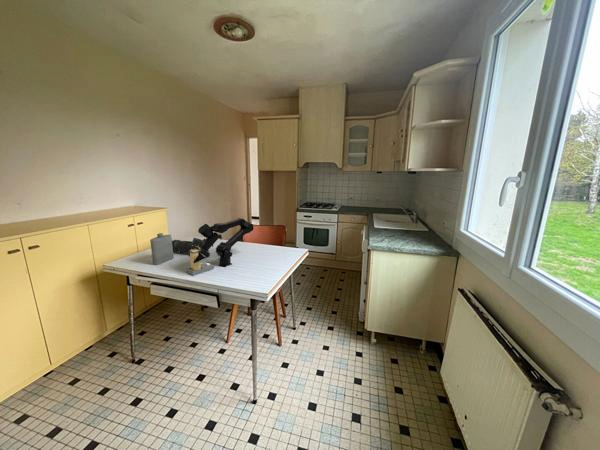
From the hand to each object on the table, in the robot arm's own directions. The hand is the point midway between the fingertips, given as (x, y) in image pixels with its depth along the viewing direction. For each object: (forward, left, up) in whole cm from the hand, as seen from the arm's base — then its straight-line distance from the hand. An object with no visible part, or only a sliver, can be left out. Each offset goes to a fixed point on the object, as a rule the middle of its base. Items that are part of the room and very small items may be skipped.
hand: (192, 260), depth 142 cm
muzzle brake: (-15, -36, -8) cm, 40 cm away
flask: (+4, -34, -8) cm, 35 cm away
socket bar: (-4, 0, -8) cm, 9 cm away
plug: (-1, 0, -8) cm, 8 cm away
